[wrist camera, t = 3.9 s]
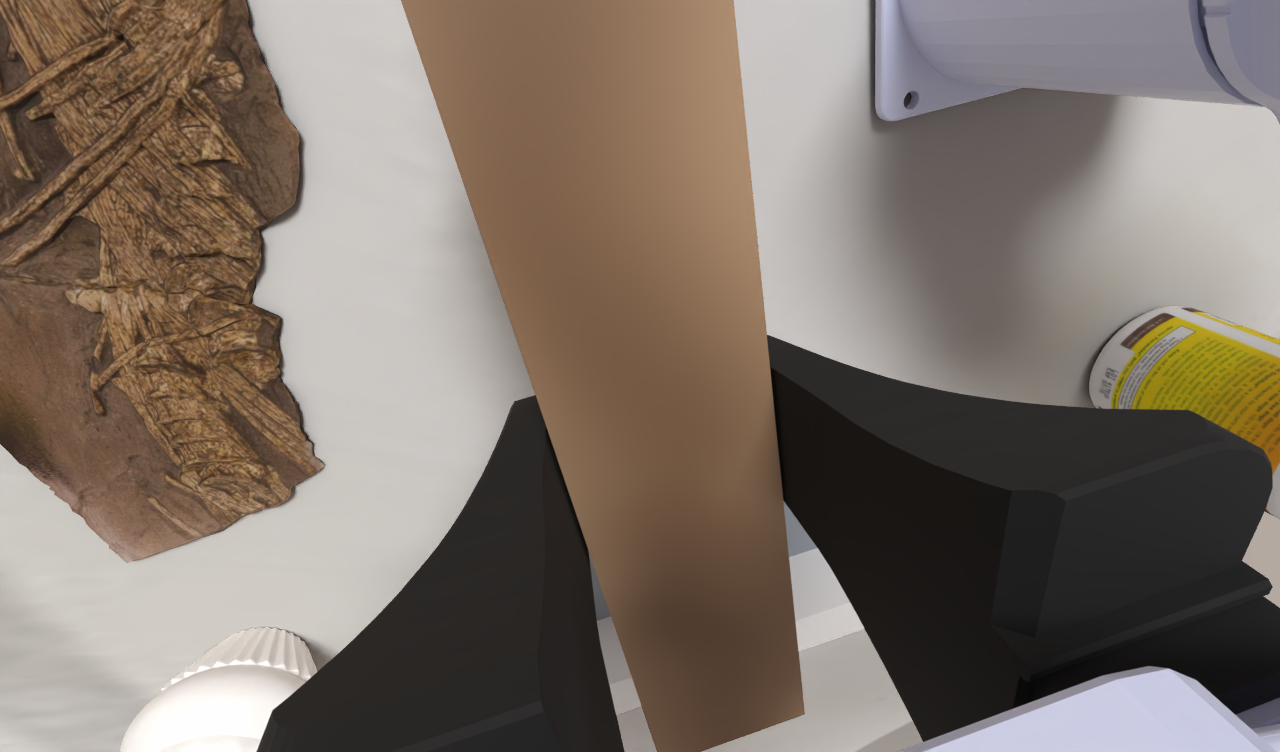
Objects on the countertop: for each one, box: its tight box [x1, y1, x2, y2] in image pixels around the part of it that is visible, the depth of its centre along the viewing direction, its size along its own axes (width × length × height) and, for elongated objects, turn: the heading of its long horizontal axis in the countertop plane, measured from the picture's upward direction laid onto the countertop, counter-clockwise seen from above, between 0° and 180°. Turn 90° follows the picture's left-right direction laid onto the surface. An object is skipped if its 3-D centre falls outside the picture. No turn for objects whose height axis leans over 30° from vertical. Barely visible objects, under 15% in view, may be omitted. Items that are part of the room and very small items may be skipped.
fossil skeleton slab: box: [0, 0, 324, 563], centre depth 15 cm, size 26×11×1 cm, turn 169°
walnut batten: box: [401, 0, 805, 752], centre depth 12 cm, size 4×16×4 cm, turn 11°
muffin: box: [120, 627, 318, 752], centre depth 21 cm, size 6×6×7 cm
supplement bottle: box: [1089, 306, 1280, 519], centre depth 23 cm, size 6×6×10 cm
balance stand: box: [588, 501, 865, 715], centre depth 26 cm, size 22×10×4 cm, turn 101°
